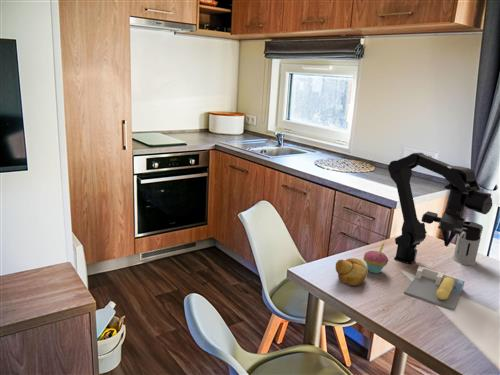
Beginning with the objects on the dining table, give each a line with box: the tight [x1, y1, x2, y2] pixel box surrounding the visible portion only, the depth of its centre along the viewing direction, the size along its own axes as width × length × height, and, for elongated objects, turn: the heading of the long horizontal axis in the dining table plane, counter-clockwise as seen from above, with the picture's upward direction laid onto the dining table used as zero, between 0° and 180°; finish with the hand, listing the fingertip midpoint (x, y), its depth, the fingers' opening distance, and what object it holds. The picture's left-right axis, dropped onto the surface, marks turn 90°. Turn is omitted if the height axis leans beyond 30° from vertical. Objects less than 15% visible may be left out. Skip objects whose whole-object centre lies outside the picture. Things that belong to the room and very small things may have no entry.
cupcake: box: [362, 241, 389, 274], centre depth 151 cm, size 9×8×12 cm
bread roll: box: [335, 257, 369, 287], centre depth 144 cm, size 13×10×8 cm
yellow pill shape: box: [436, 277, 455, 300], centre depth 139 cm, size 14×4×4 cm, turn 145°
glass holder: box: [451, 220, 482, 266], centre depth 164 cm, size 9×14×15 cm, turn 133°
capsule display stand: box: [403, 265, 466, 311], centre depth 141 cm, size 15×17×4 cm
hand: (446, 246), depth 149 cm, fingers closed
